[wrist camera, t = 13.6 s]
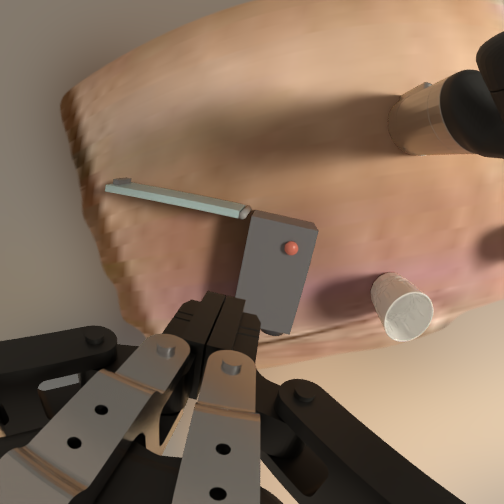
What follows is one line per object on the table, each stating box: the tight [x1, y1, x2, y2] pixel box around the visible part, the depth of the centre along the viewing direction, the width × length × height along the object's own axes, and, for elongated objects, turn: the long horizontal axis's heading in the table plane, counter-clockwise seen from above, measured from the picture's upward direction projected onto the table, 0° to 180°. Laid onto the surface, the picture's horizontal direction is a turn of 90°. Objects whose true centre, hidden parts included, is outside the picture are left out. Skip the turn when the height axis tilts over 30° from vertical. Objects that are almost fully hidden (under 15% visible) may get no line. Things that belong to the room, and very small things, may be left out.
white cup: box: [370, 272, 433, 342], centre depth 42 cm, size 8×8×10 cm
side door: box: [105, 178, 251, 219], centre depth 42 cm, size 21×2×6 cm, turn 78°
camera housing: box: [235, 210, 318, 336], centre depth 45 cm, size 17×9×7 cm, turn 169°
